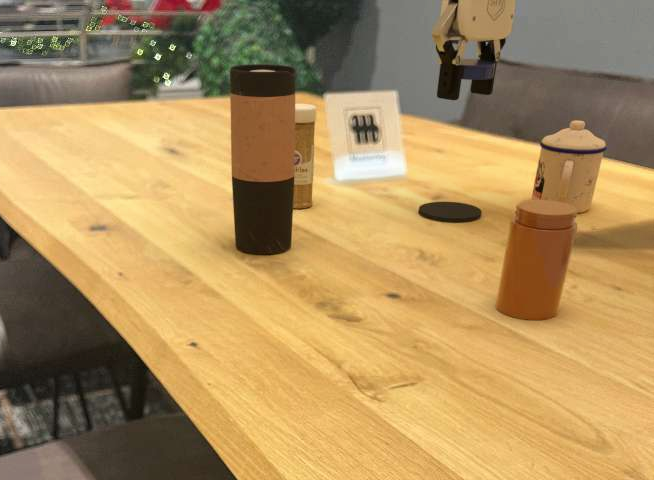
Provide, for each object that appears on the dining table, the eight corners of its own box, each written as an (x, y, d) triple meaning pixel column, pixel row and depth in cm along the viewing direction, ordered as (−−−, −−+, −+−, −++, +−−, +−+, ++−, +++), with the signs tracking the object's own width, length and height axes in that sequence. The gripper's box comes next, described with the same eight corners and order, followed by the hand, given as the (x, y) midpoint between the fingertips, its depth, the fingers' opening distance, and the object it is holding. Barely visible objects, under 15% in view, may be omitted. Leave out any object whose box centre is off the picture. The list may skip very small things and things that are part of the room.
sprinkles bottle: (281, 208, 112) (282, 107, 104) (284, 200, 116) (285, 102, 108) (312, 209, 112) (315, 108, 104) (314, 201, 116) (317, 103, 108)
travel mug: (224, 242, 99) (218, 65, 87) (276, 234, 102) (277, 62, 90) (249, 259, 93) (246, 73, 82) (303, 250, 96) (308, 70, 85)
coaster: (473, 205, 115) (474, 201, 114) (487, 222, 107) (488, 218, 107) (414, 205, 115) (414, 201, 114) (423, 222, 107) (424, 217, 107)
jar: (544, 297, 84) (566, 198, 78) (566, 319, 79) (591, 215, 73) (488, 298, 83) (505, 199, 77) (506, 320, 78) (526, 216, 72)
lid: (461, 70, 105) (463, 57, 104) (503, 76, 101) (505, 63, 100) (430, 74, 101) (432, 60, 100) (472, 81, 97) (474, 67, 96)
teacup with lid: (531, 196, 119) (547, 114, 113) (592, 202, 117) (612, 118, 110) (524, 216, 110) (541, 127, 103) (590, 222, 108) (612, 132, 101)
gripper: (470, -73, 85) (447, 106, 95) (553, -68, 94) (524, 93, 105) (417, -72, 89) (401, 99, 100) (501, -68, 99) (478, 87, 109)
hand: (464, 95), depth 102 cm, fingers closed on lid, 6 cm apart
